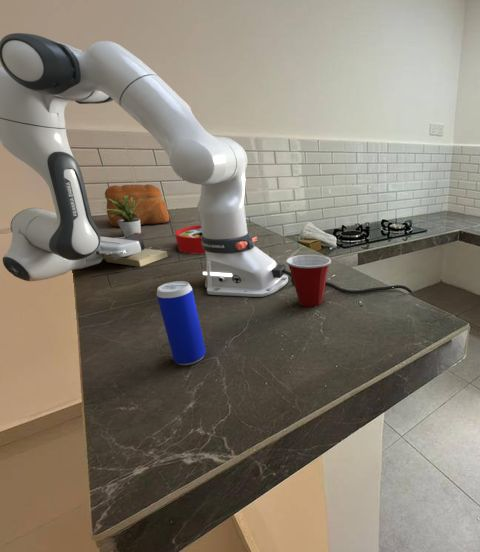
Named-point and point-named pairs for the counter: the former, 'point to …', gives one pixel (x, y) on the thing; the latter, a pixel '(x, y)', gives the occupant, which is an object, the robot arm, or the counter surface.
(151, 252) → the panel
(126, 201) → the house plant
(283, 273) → the robot arm
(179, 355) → the beverage can
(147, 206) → the bread
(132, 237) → the dark grey flat block
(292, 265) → the plastic cup
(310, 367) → the counter surface
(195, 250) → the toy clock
